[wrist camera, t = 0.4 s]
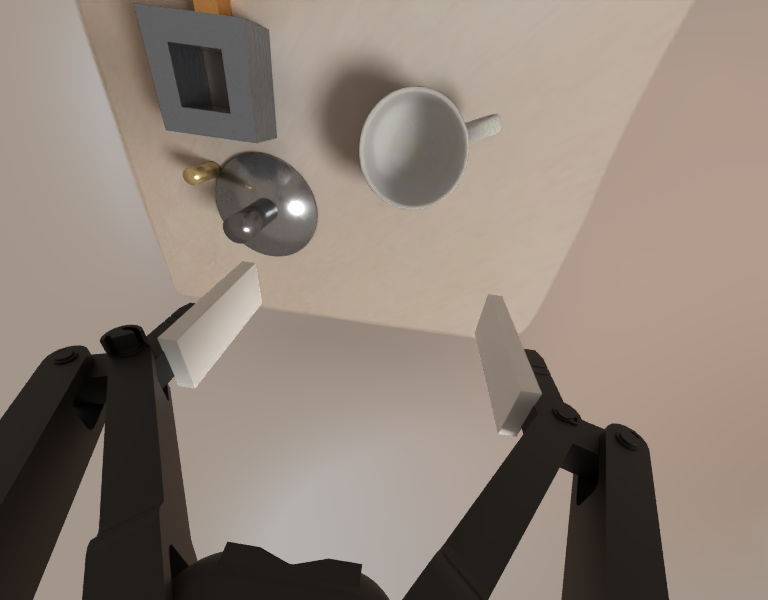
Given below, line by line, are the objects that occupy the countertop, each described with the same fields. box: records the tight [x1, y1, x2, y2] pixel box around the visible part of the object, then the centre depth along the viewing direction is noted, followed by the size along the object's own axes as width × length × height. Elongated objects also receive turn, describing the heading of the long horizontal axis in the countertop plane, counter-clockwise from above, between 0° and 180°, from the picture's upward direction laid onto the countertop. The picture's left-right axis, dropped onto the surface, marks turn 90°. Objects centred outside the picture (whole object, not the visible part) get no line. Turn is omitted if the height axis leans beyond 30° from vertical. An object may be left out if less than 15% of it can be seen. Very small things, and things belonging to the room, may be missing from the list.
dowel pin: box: [183, 162, 221, 185], centre depth 38 cm, size 2×2×5 cm
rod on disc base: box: [216, 153, 318, 256], centre depth 38 cm, size 14×14×9 cm
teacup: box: [359, 86, 502, 210], centre depth 32 cm, size 14×11×8 cm
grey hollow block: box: [133, 0, 277, 143], centre depth 31 cm, size 15×10×6 cm, turn 173°
